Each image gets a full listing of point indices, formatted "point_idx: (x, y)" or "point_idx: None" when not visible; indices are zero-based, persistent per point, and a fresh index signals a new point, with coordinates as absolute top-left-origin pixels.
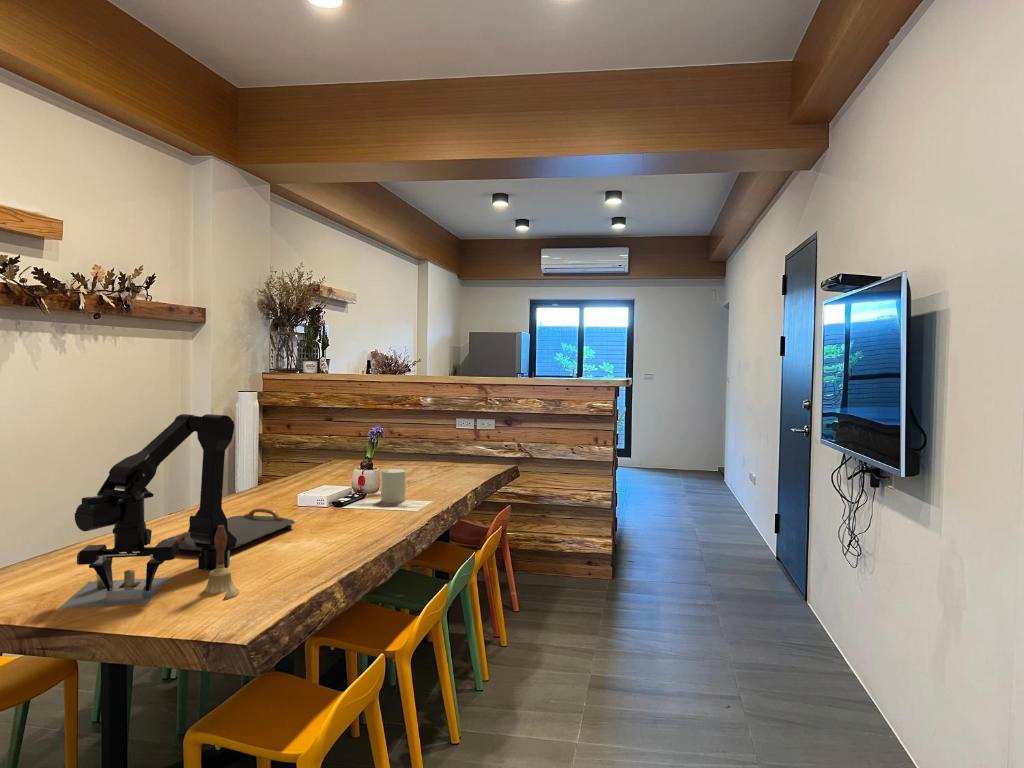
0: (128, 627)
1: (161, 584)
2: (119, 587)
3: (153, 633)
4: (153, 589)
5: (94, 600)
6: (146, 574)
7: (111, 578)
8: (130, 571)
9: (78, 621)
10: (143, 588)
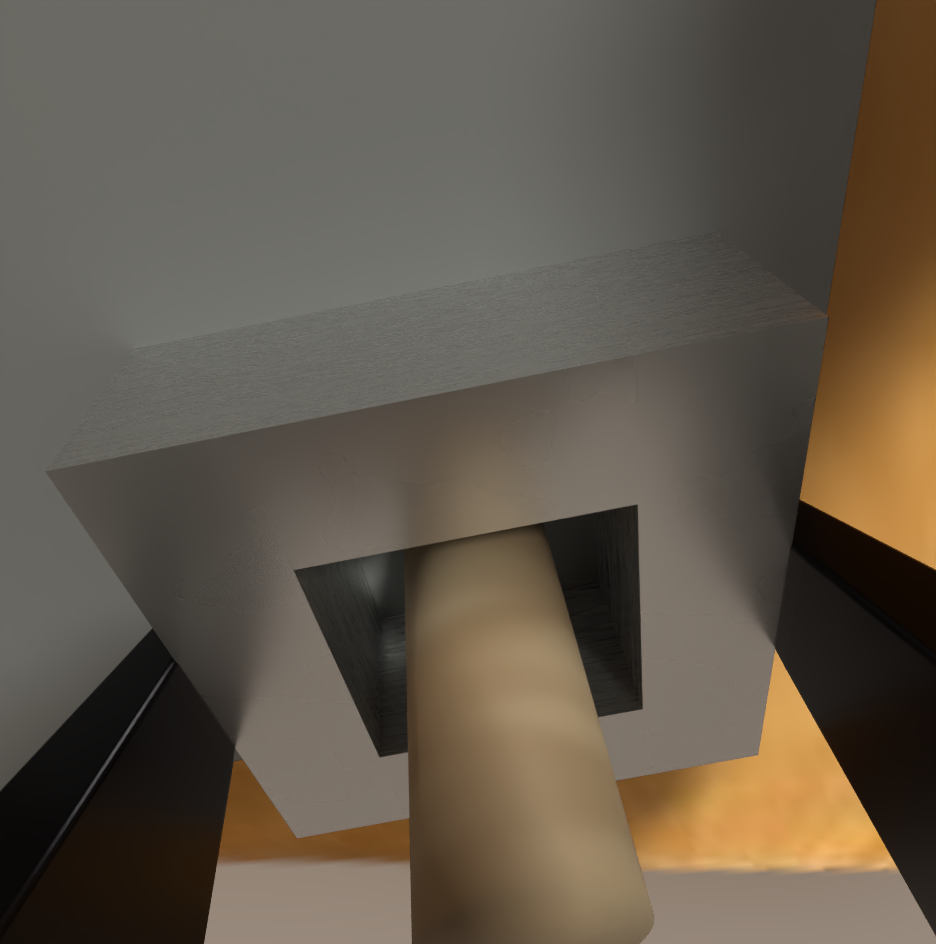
0: (679, 822)
1: None
2: (357, 691)
3: (847, 851)
4: (742, 208)
5: (97, 649)
6: (930, 917)
7: (133, 815)
8: (559, 937)
9: (258, 798)
10: (761, 721)
